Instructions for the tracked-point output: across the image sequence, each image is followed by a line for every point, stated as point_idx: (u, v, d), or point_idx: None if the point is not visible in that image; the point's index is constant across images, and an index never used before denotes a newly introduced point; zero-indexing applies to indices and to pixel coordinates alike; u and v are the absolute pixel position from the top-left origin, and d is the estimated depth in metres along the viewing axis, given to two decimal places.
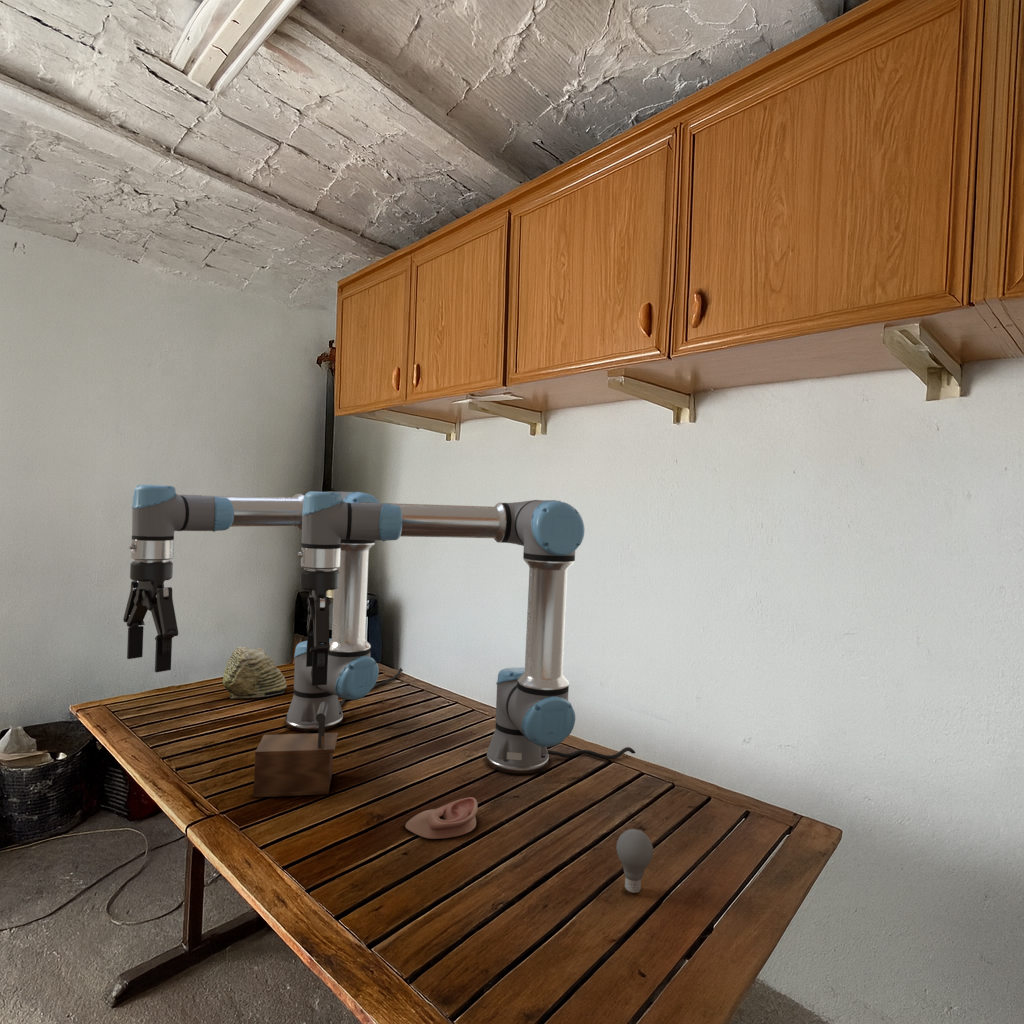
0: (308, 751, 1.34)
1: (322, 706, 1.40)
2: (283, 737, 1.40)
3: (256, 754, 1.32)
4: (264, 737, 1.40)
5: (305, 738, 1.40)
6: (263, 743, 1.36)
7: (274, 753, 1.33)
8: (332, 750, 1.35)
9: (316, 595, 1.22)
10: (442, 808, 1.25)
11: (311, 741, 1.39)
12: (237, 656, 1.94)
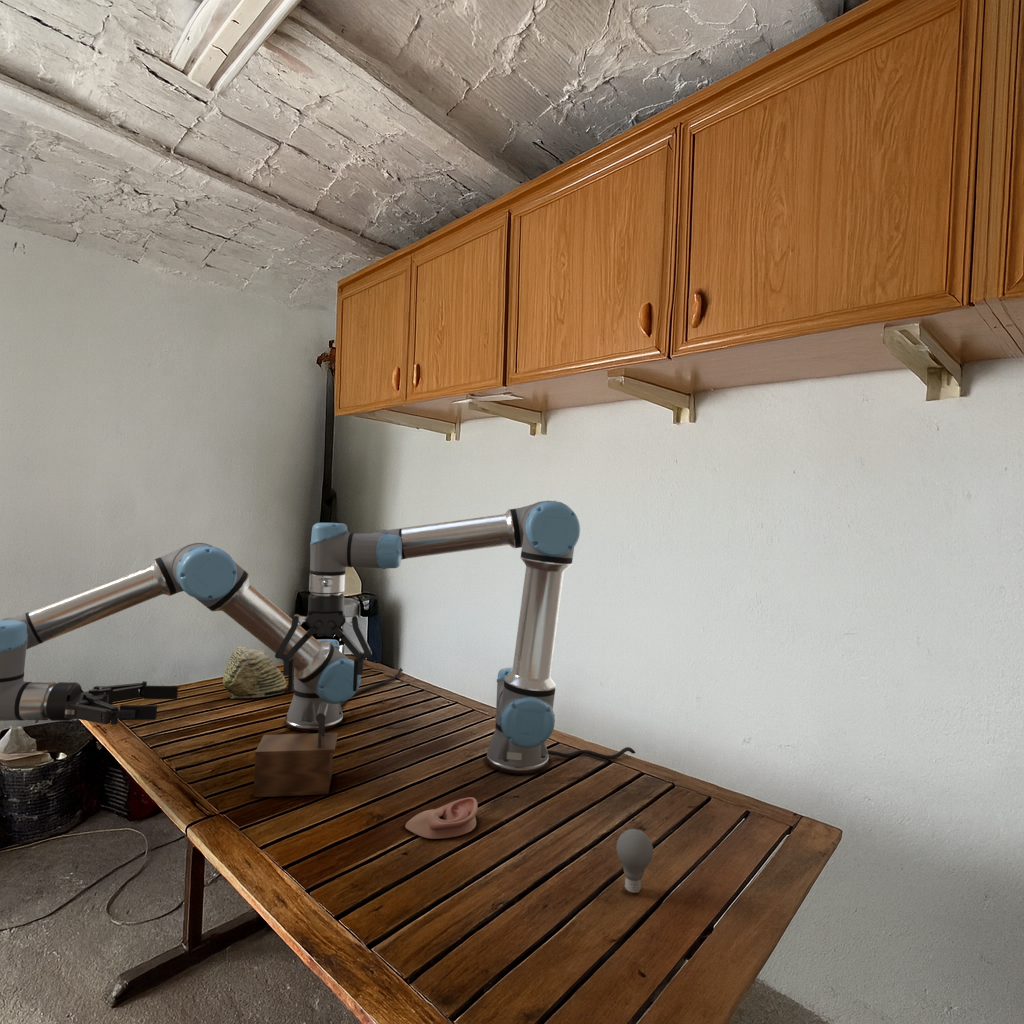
0: (308, 751, 1.34)
1: (322, 706, 1.40)
2: (283, 737, 1.40)
3: (256, 754, 1.32)
4: (264, 737, 1.40)
5: (305, 738, 1.40)
6: (263, 743, 1.36)
7: (274, 753, 1.33)
8: (332, 750, 1.35)
9: (343, 615, 1.38)
10: (442, 808, 1.25)
11: (311, 741, 1.39)
12: (237, 656, 1.94)
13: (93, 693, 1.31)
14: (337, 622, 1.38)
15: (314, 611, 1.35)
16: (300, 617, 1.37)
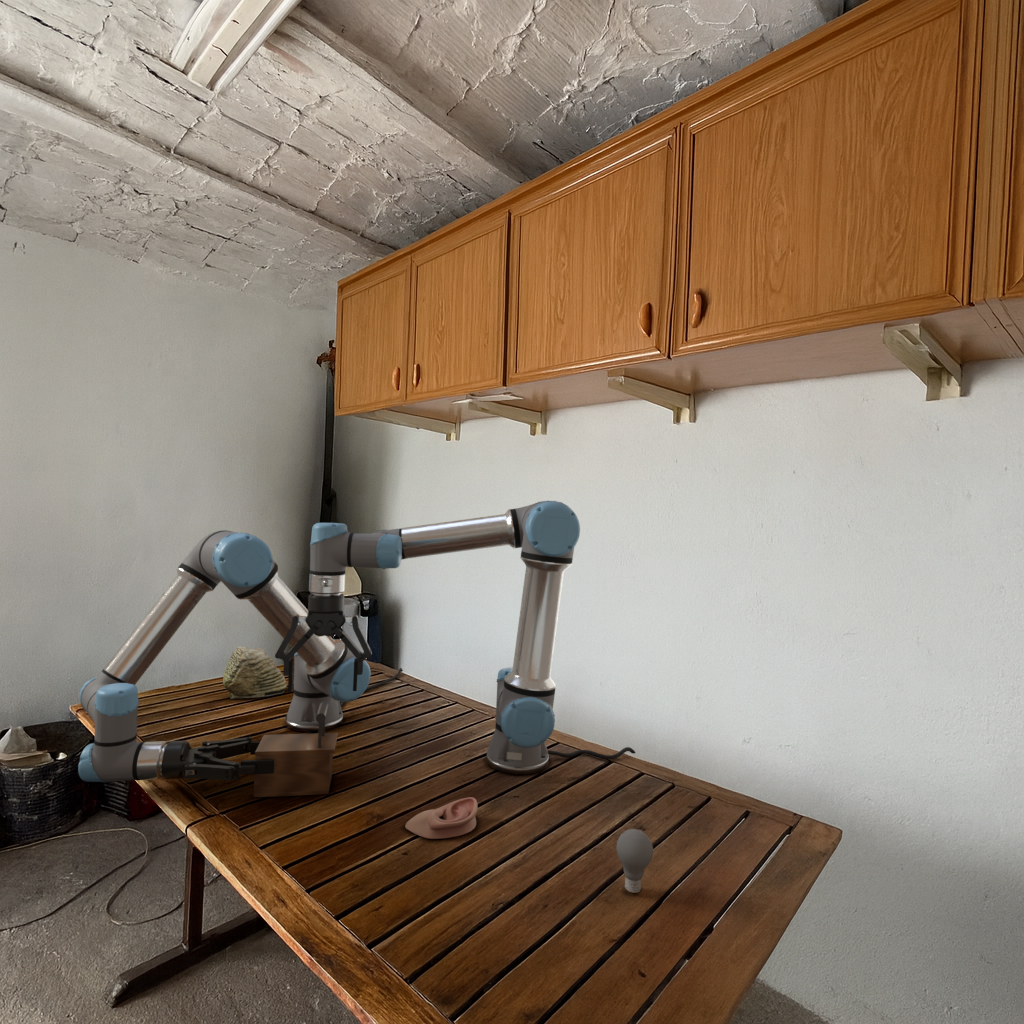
0: (309, 751, 1.34)
1: (322, 706, 1.40)
2: (283, 737, 1.40)
3: (256, 754, 1.32)
4: (264, 737, 1.40)
5: (305, 738, 1.40)
6: (263, 743, 1.36)
7: (274, 753, 1.33)
8: (332, 750, 1.35)
9: (343, 615, 1.38)
10: (442, 808, 1.25)
11: (311, 741, 1.39)
12: (237, 656, 1.94)
13: (202, 750, 1.35)
14: (337, 622, 1.38)
15: (314, 611, 1.35)
16: (300, 617, 1.37)
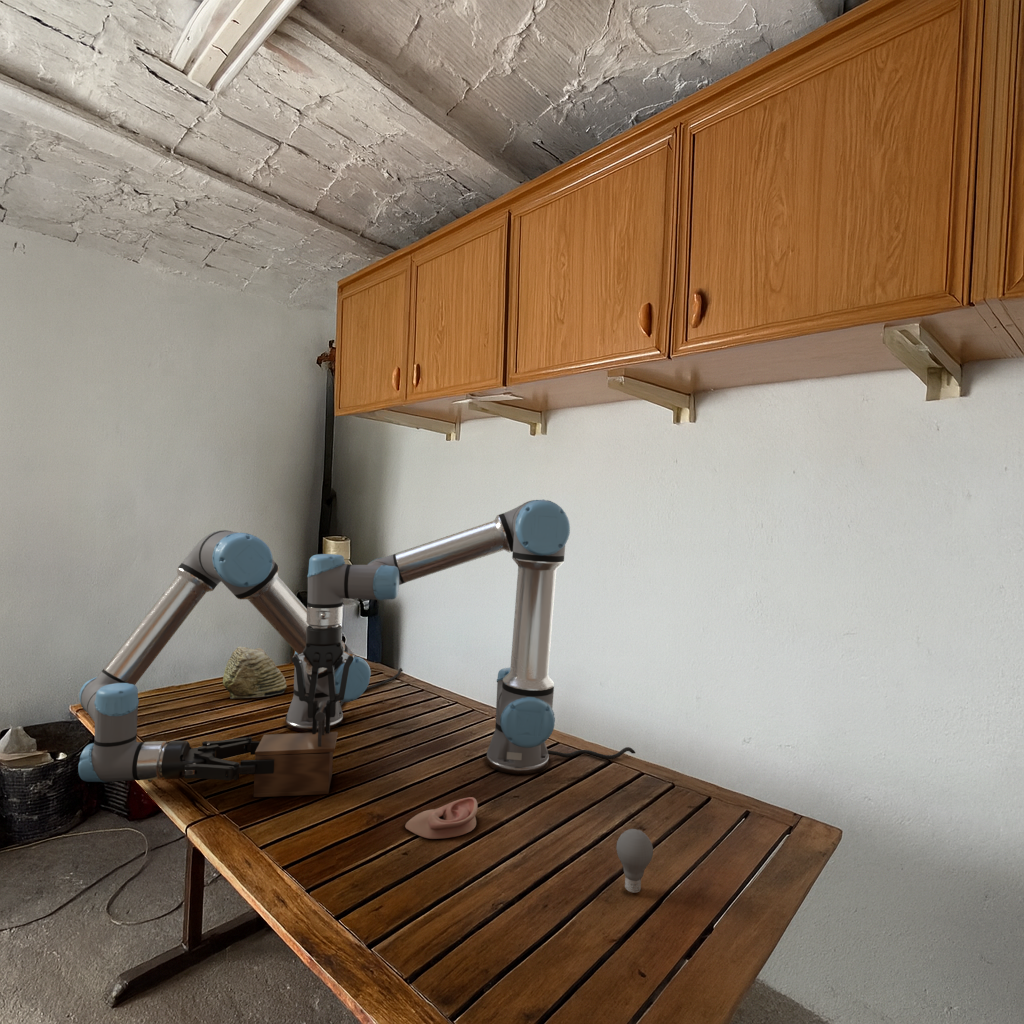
0: (308, 750, 1.34)
1: (322, 705, 1.39)
2: (283, 737, 1.40)
3: (256, 754, 1.32)
4: (264, 737, 1.40)
5: (305, 737, 1.40)
6: (263, 743, 1.36)
7: (274, 753, 1.33)
8: (332, 749, 1.35)
9: (340, 647, 1.39)
10: (442, 808, 1.25)
11: (311, 740, 1.39)
12: (237, 656, 1.94)
13: (202, 750, 1.35)
14: (335, 654, 1.38)
15: (312, 644, 1.35)
16: (298, 655, 1.37)
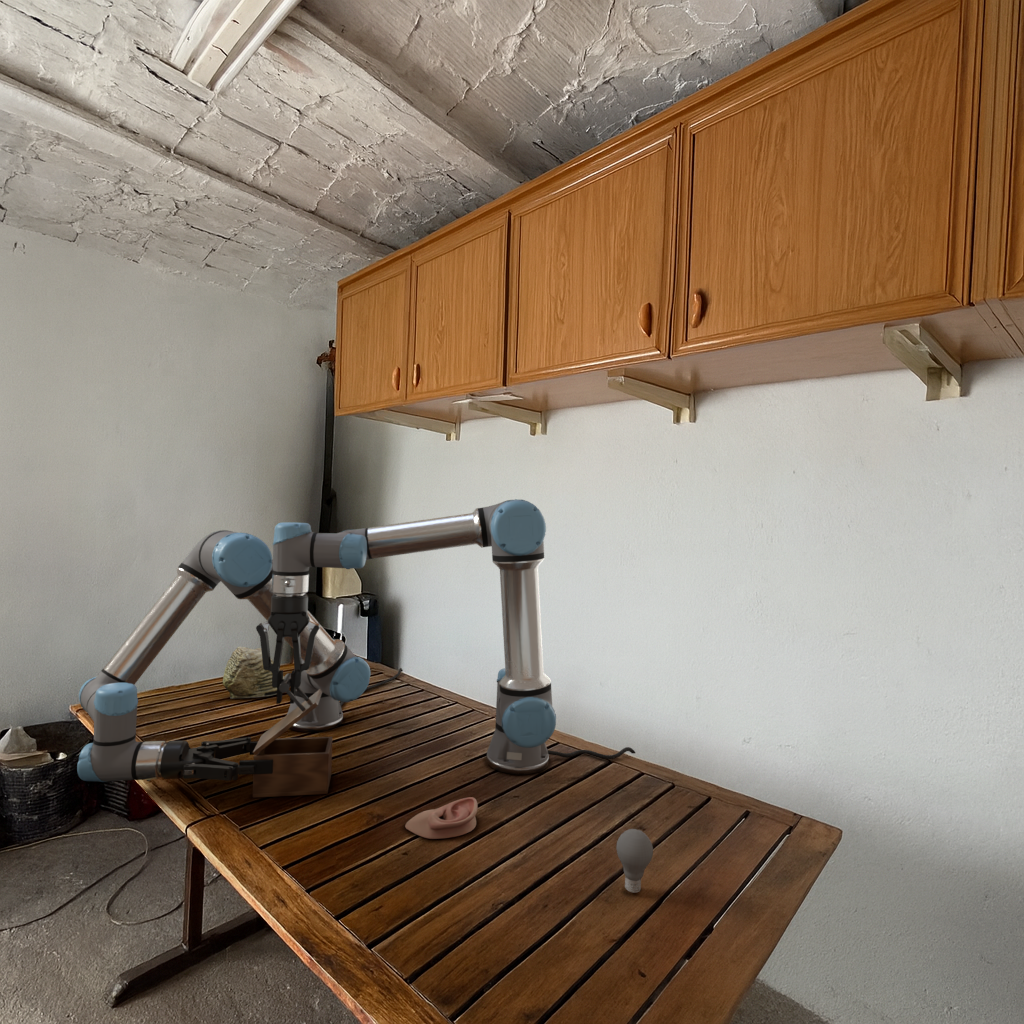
0: (296, 719, 1.33)
1: (284, 678, 1.38)
2: (276, 725, 1.40)
3: (255, 753, 1.32)
4: (261, 736, 1.40)
5: (294, 712, 1.40)
6: (259, 741, 1.36)
7: (269, 742, 1.32)
8: (314, 704, 1.34)
9: (306, 616, 1.37)
10: (442, 808, 1.25)
11: (298, 711, 1.38)
12: (237, 656, 1.94)
13: (201, 750, 1.35)
14: (300, 623, 1.37)
15: (276, 612, 1.34)
16: (263, 624, 1.36)
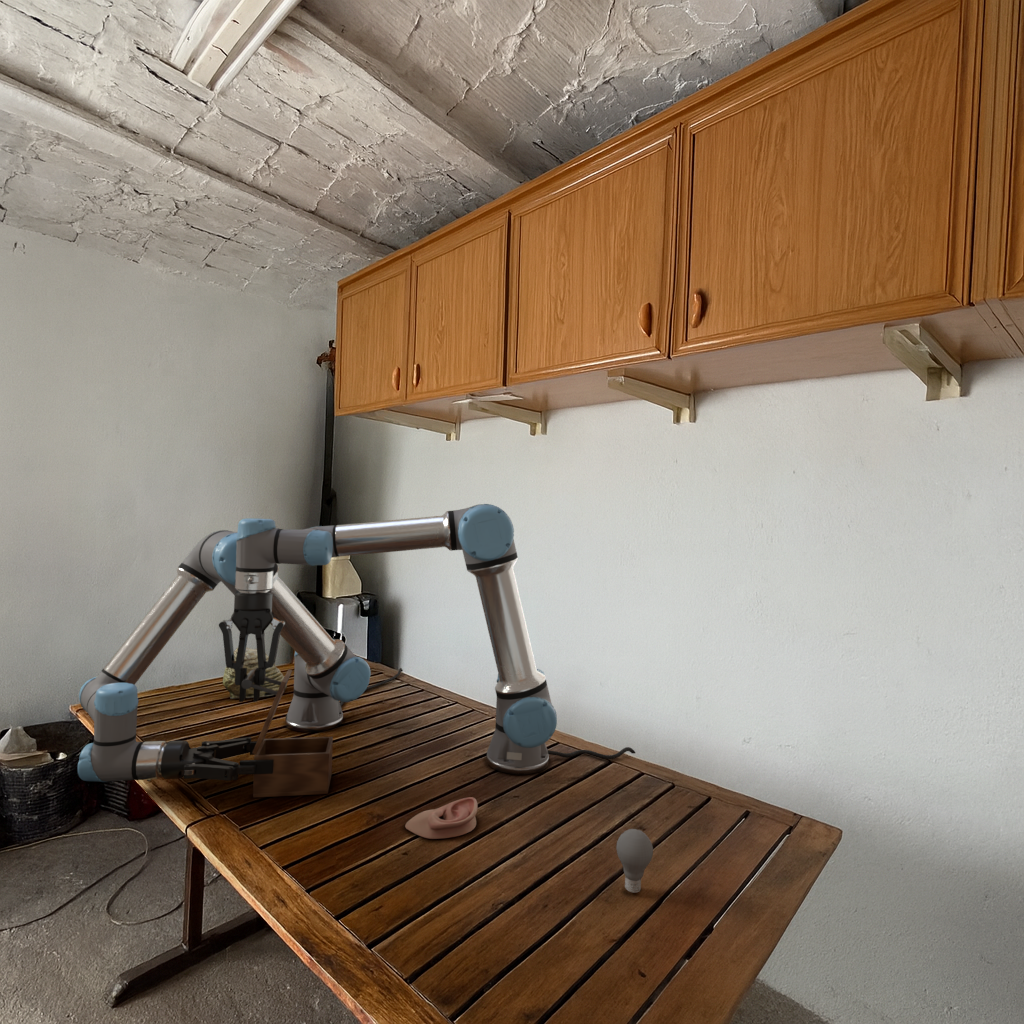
0: (273, 705, 1.32)
1: (246, 676, 1.36)
2: None
3: (255, 752, 1.32)
4: None
5: None
6: None
7: (261, 736, 1.32)
8: (282, 683, 1.33)
9: (270, 613, 1.35)
10: (442, 808, 1.25)
11: None
12: None
13: (201, 750, 1.35)
14: (264, 620, 1.35)
15: (239, 608, 1.32)
16: (226, 621, 1.34)
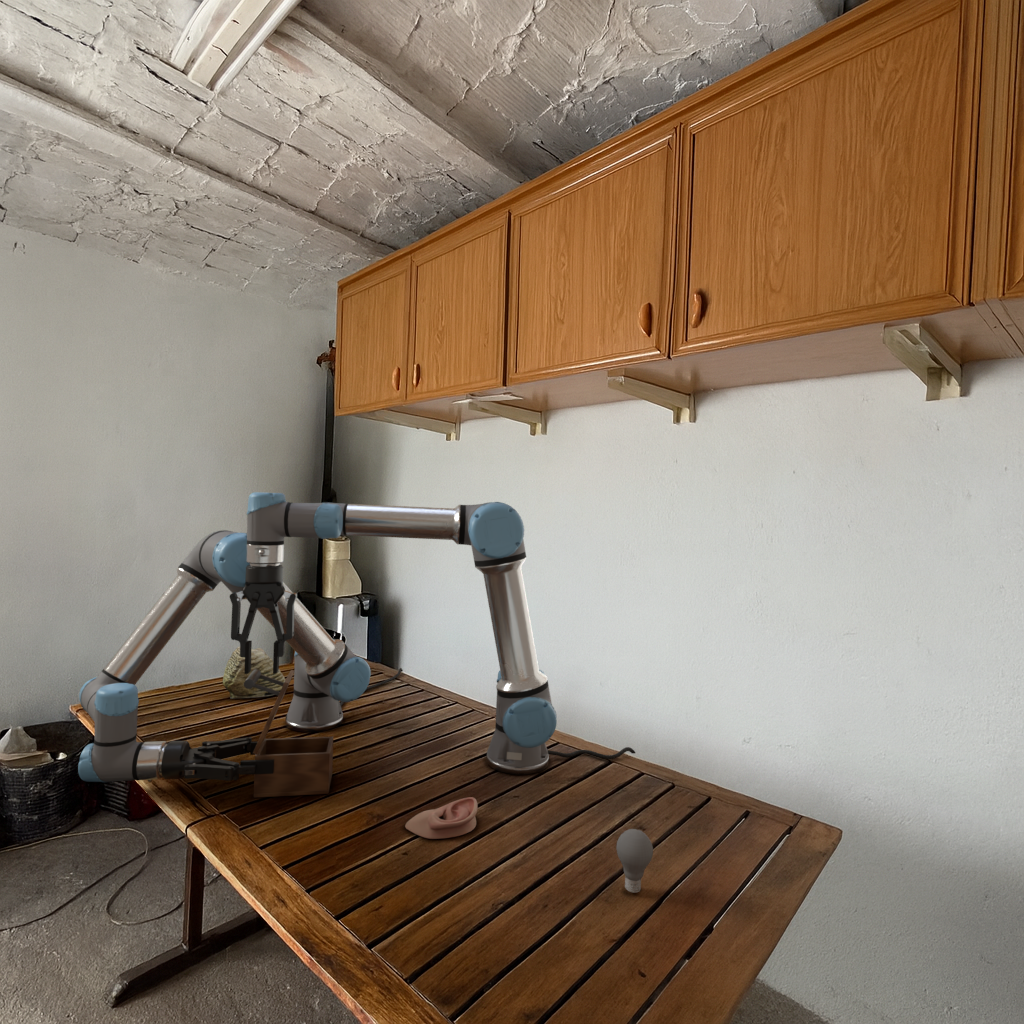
0: (275, 705, 1.32)
1: None
2: None
3: (256, 752, 1.32)
4: None
5: None
6: None
7: (262, 736, 1.32)
8: (284, 684, 1.33)
9: (281, 586, 1.36)
10: (442, 808, 1.25)
11: None
12: (237, 656, 1.94)
13: (202, 750, 1.35)
14: (275, 593, 1.35)
15: (250, 582, 1.33)
16: (237, 593, 1.34)
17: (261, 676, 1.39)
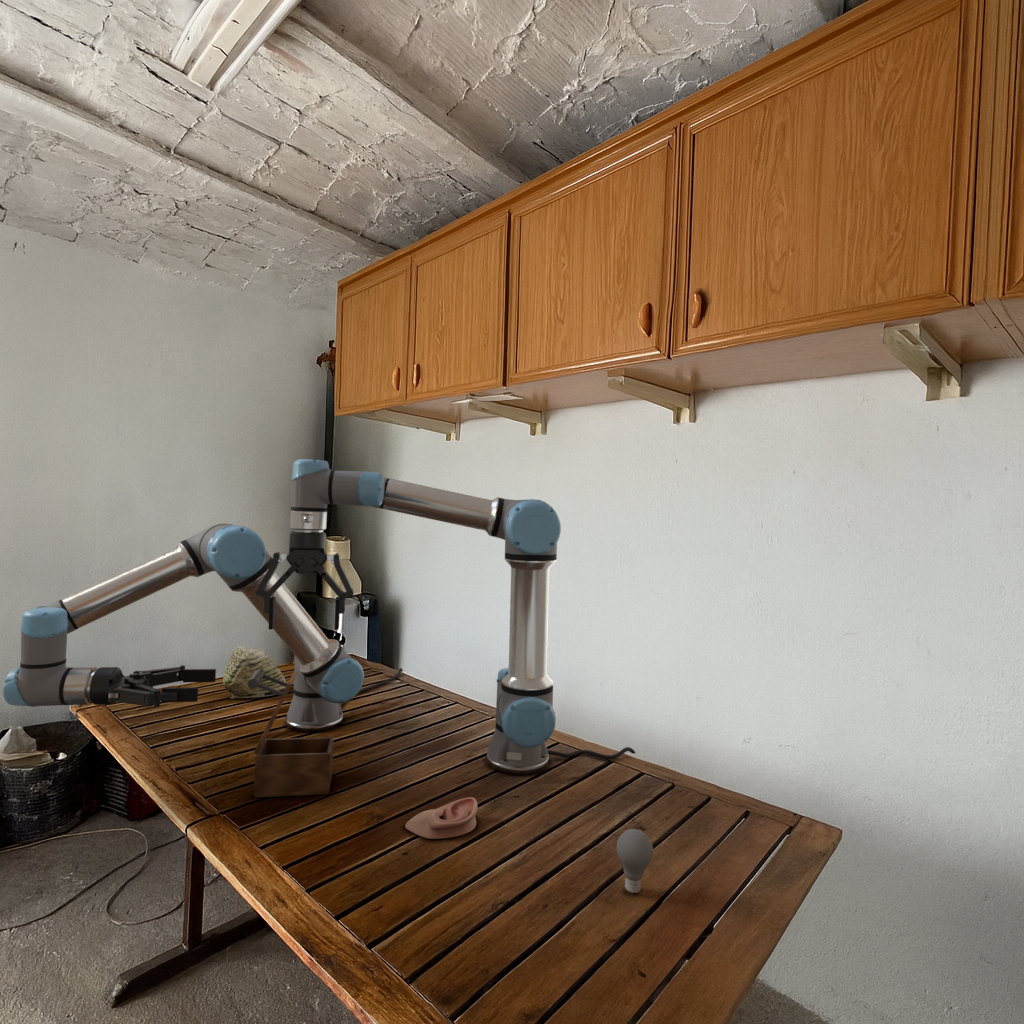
0: (278, 706, 1.33)
1: None
2: None
3: (256, 752, 1.32)
4: None
5: None
6: None
7: (264, 736, 1.32)
8: (288, 684, 1.33)
9: (324, 553, 1.37)
10: (442, 808, 1.25)
11: None
12: (237, 656, 1.94)
13: (134, 677, 1.32)
14: (318, 560, 1.37)
15: (295, 547, 1.34)
16: (281, 554, 1.36)
17: (265, 676, 1.39)
